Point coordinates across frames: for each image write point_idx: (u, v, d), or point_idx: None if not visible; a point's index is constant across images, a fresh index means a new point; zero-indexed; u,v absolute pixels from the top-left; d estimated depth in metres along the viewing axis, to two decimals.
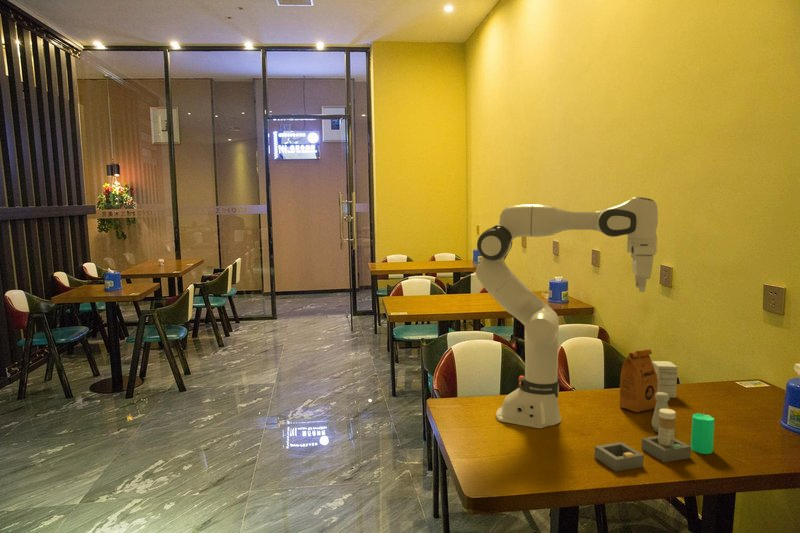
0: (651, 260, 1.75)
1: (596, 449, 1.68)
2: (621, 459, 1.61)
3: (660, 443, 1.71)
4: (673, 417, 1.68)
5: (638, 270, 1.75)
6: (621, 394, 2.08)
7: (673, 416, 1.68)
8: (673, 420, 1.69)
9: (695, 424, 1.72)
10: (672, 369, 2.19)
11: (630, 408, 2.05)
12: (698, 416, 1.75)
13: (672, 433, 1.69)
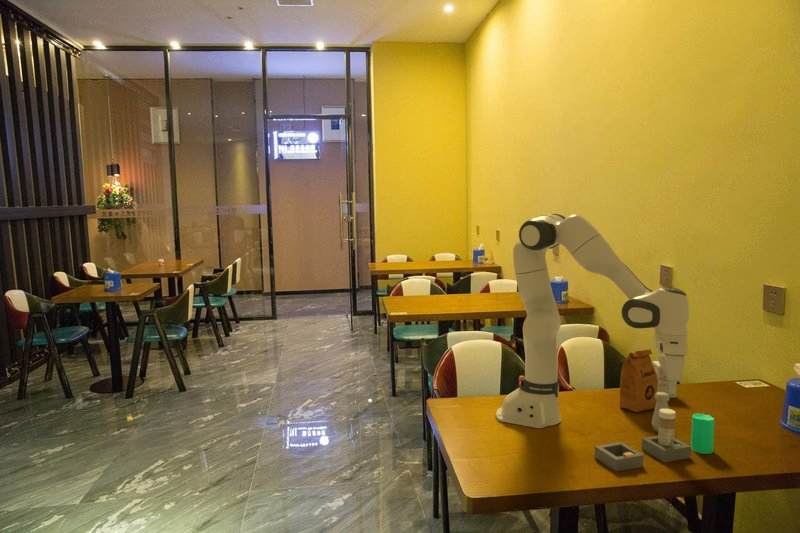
0: (683, 361, 1.59)
1: (596, 449, 1.68)
2: (621, 459, 1.61)
3: (660, 443, 1.71)
4: (673, 417, 1.68)
5: (668, 372, 1.60)
6: (621, 394, 2.08)
7: (673, 416, 1.68)
8: (673, 420, 1.69)
9: (695, 424, 1.72)
10: None
11: (630, 408, 2.05)
12: (698, 416, 1.75)
13: (672, 433, 1.69)
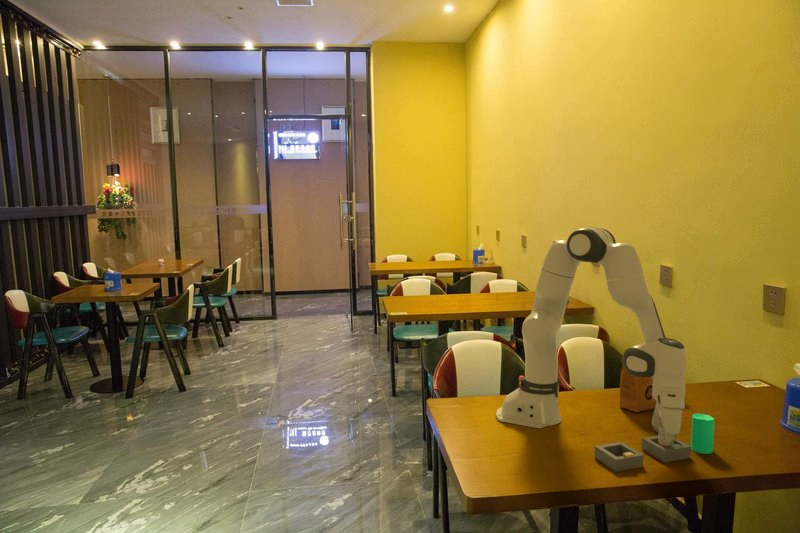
0: (680, 415, 1.60)
1: (596, 449, 1.68)
2: (621, 459, 1.61)
3: (660, 443, 1.71)
4: None
5: (666, 425, 1.61)
6: (621, 394, 2.08)
7: None
8: None
9: (695, 424, 1.72)
10: None
11: (630, 408, 2.05)
12: (698, 416, 1.75)
13: None
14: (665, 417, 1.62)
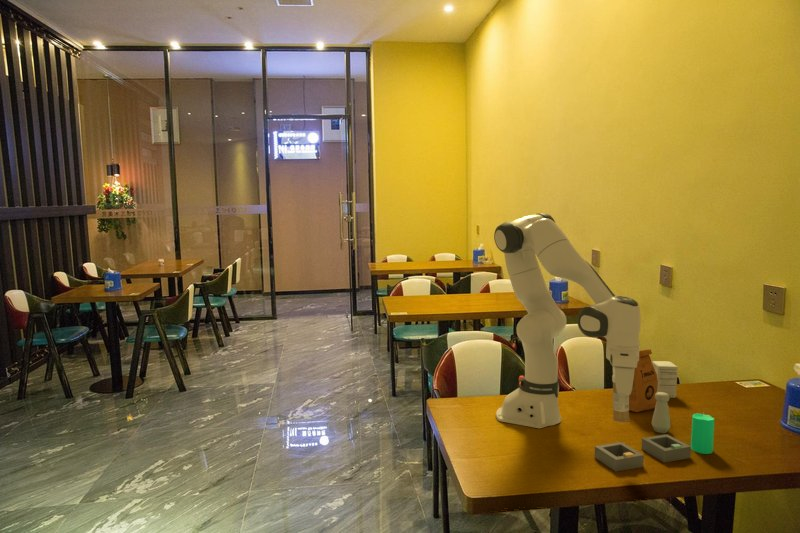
0: (632, 374, 1.54)
1: (596, 449, 1.68)
2: (621, 459, 1.61)
3: (615, 410, 1.64)
4: None
5: (617, 385, 1.55)
6: None
7: None
8: None
9: (695, 424, 1.72)
10: (672, 369, 2.19)
11: (630, 408, 2.05)
12: (698, 416, 1.75)
13: (627, 398, 1.62)
14: (617, 376, 1.55)
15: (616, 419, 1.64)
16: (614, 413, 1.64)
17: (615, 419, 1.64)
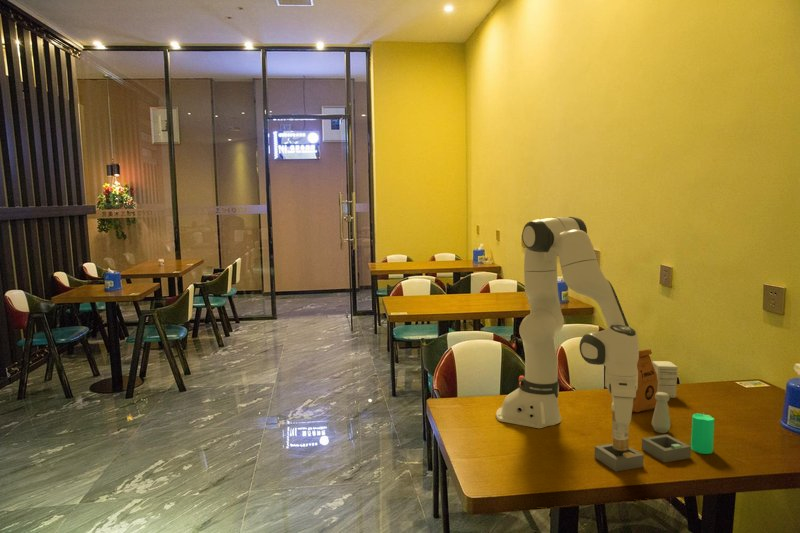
0: (631, 404, 1.54)
1: (596, 449, 1.68)
2: (621, 459, 1.61)
3: (614, 438, 1.64)
4: None
5: (616, 415, 1.55)
6: None
7: None
8: None
9: (695, 424, 1.72)
10: (672, 369, 2.19)
11: None
12: (698, 416, 1.75)
13: (626, 427, 1.63)
14: (616, 406, 1.55)
15: (616, 447, 1.64)
16: (614, 441, 1.65)
17: (615, 447, 1.65)
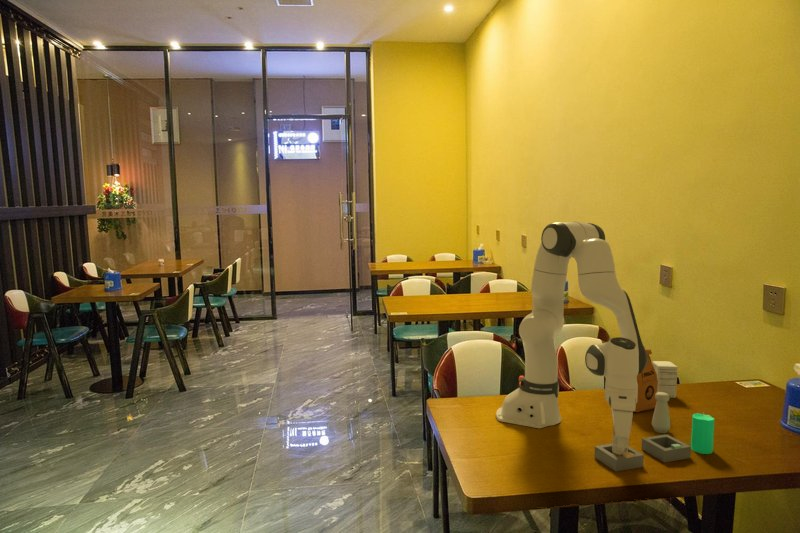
0: (630, 418, 1.55)
1: (596, 449, 1.68)
2: (621, 459, 1.61)
3: (614, 452, 1.65)
4: None
5: (616, 428, 1.56)
6: None
7: None
8: None
9: (695, 424, 1.72)
10: (672, 369, 2.19)
11: None
12: (698, 416, 1.75)
13: (626, 441, 1.63)
14: (615, 420, 1.56)
15: None
16: None
17: None
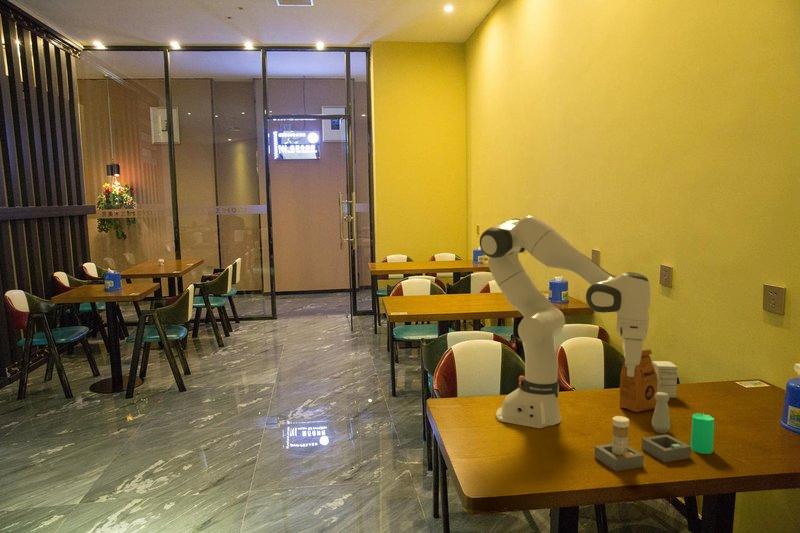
0: (641, 345, 1.61)
1: (596, 449, 1.68)
2: (621, 459, 1.61)
3: (614, 452, 1.65)
4: (626, 425, 1.62)
5: (626, 355, 1.62)
6: (621, 394, 2.08)
7: (626, 424, 1.62)
8: (626, 428, 1.63)
9: (695, 424, 1.72)
10: (672, 369, 2.19)
11: (630, 408, 2.05)
12: (698, 416, 1.75)
13: (626, 442, 1.63)
14: (626, 347, 1.62)
15: None
16: None
17: None
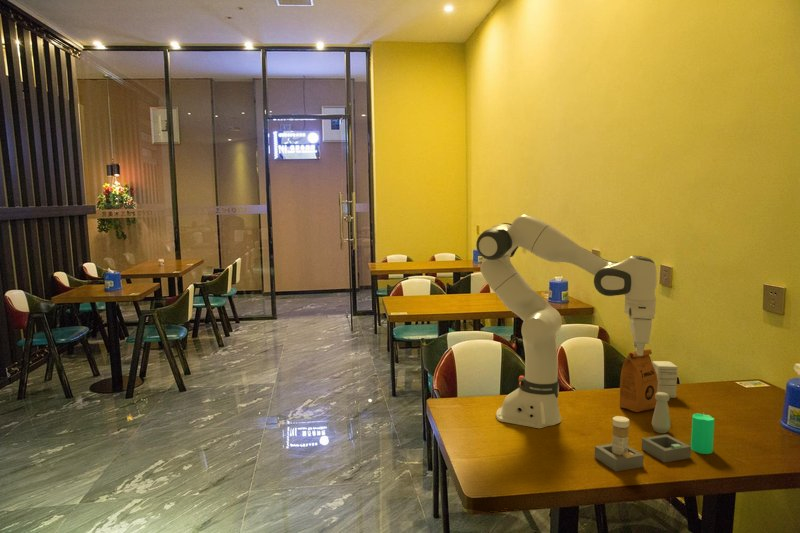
0: (649, 324, 1.68)
1: (596, 449, 1.68)
2: (621, 459, 1.61)
3: (614, 452, 1.65)
4: (626, 425, 1.62)
5: (636, 335, 1.69)
6: (621, 394, 2.08)
7: (626, 424, 1.62)
8: (627, 428, 1.63)
9: (695, 424, 1.72)
10: (672, 369, 2.19)
11: (630, 408, 2.05)
12: (698, 416, 1.75)
13: (626, 442, 1.63)
14: (635, 327, 1.69)
15: None
16: None
17: None
